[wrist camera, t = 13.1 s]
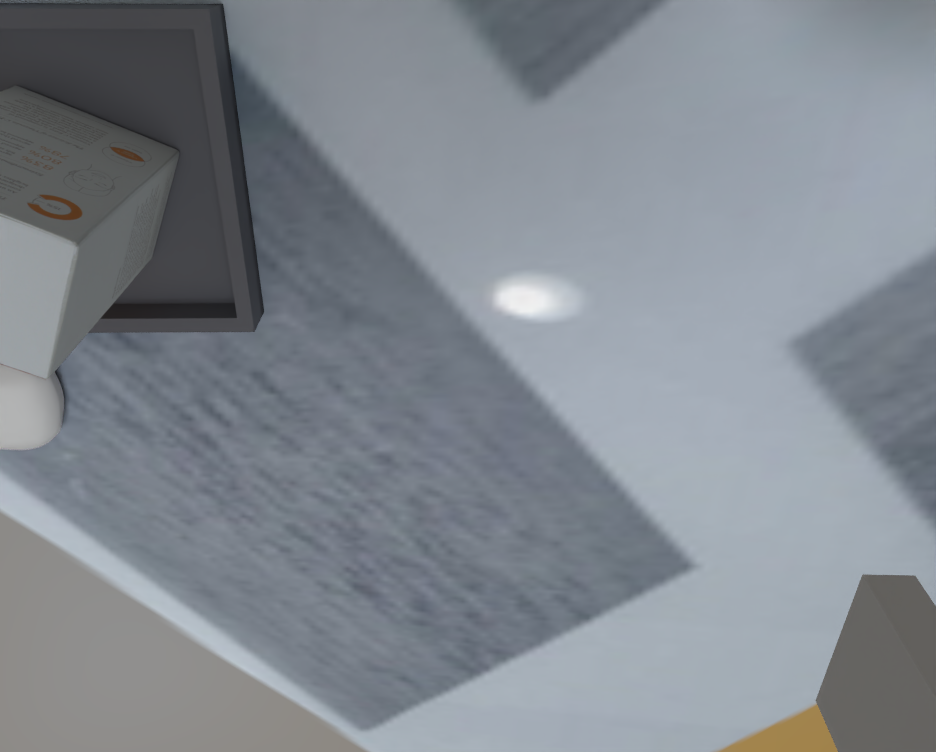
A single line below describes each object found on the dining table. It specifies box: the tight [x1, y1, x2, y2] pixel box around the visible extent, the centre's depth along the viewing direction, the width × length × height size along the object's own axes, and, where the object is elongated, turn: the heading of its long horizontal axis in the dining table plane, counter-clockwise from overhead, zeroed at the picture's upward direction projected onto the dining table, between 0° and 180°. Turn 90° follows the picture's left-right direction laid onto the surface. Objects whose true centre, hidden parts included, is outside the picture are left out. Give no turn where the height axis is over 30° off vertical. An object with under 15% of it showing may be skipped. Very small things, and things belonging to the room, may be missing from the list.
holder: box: [0, 3, 264, 333], centre depth 39 cm, size 16×16×2 cm
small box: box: [0, 86, 179, 379], centre depth 34 cm, size 8×6×13 cm
